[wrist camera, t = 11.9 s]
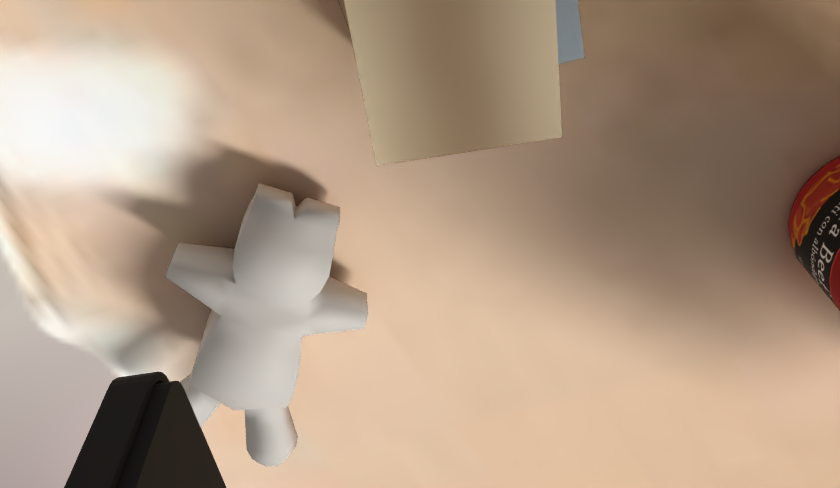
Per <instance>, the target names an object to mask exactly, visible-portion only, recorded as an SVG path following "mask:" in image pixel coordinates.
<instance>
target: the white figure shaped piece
mask: <svg viewBox="0 0 840 488" xmlns="http://www.w3.org/2000/svg"><path fill="white" fill-rule="evenodd" d="M339 222H340V207H338V206H334V205H331V204H328V203H324V202H321V201H317V200H314V199H311V198H306V199H304V200H303V201H302V202H301V203H300V204H299V205H297V206H296V204H295V201H294V197H293V193H290V192H287V191H284V190H280V189H277V188H274V187H270V186H267V185H263V184H260V183H259V184H258V187H257V190H256V192H255V195H254V196H253V198H252V200H251V201H250V203H249V205H248V207H247V209H246V211H245V213H244V216H243V219H242V223H241V227H240V231H239V235H238V239H237V242H236V246H235V249H233V248H224V247H215V246H206V245H197V244H188V243H178V245H177V248H176V250H175V252H174V255H173V257H172V260H171V262H170V265H169V267H168V270H167V273H166V275H165V277H166V278H167V279H168V280H170V281H171V282H173V283H174V284H176V285H177V286H179V287H180V288H182V289H183V290H185V291H186V292H188V293H189V294H191V295H192V296H193V297H195V298H196V299H198V300H199V301H201V302H202V303H204V304H205V305H207V306H208V307H209V308H211V309H212V310H211V312H210V314H209V317H208V320H207V323H206V327H205V330H204V334H203V337H202V341H201V345H200V348H199V352H198V355H197V358H196V361H195V364H194V367H193V370H192V373H191V374H190V375H189V376H187V377H186V378H185V379H183V380H182V381H181V382H180V383H181V384H182V386H183V388H184V390H185V392H186V394H187V397H188V399H189V401H190V404H191V406H192V408H193V411H194V413H195V415H196V418H197V420H198V422H199V425H200V427H202V426H203V425H204V423H205V422H206V421H207V420H208V418H209V417H210V416H211V415H212V413H213V412H214V411H215V409H216V408H217V407H218V406H219V404H220V403H222V404H224V405H226V406H227V407H229V408H231V409H233V410H244V409H245V425H246V445H247V451H248V453H249V454H250V456H251V458H252V459H253V460H255V461H256V462H258V463H259V464H262V465H264V466H278V465H279V464H281V463H282V462H283V461H285V460H286V459H287V457H288V456H289V455H290V453H291V452H292V451H293V450H294V448H295V447H296V443H297V437H298V436H297V433H296V430H295V427H294V424H293V420H292V417H291V414H290V411H289V408H288V404H289V402H290V400H291V398H292V396H293V394H294V390H295V386H296V381H297V377H298V370H299V363H300V352H301V339H302V336H308V335H314V334H322V333H331V332H340V331H349V330H358V329H364V328H365V324H366V320H367V316H368V305H367V293H365V292H362V291H360V290H358V289H356V288H353V287H351V286H349V285H347V284H345V283H342V282H340V281H338V280H336V279H334V278H331V277H329V274H330V269H331V263H332V258H333V251H334V245H335V238H336V232H337V228H338V225H339Z"/></svg>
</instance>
